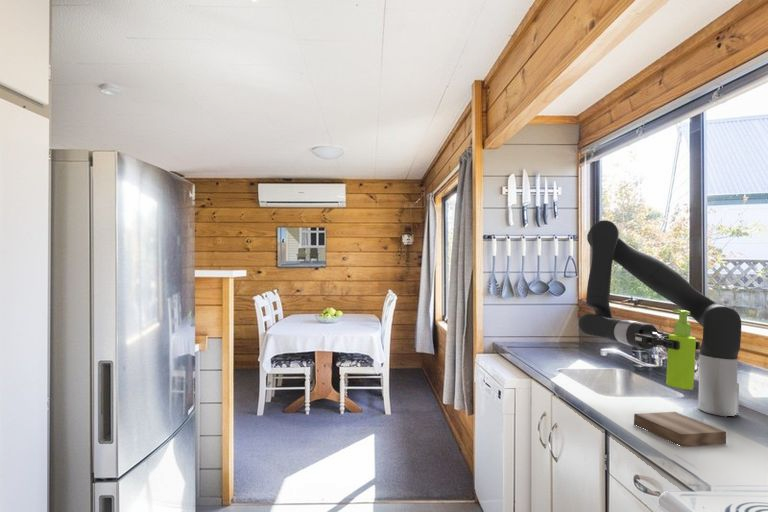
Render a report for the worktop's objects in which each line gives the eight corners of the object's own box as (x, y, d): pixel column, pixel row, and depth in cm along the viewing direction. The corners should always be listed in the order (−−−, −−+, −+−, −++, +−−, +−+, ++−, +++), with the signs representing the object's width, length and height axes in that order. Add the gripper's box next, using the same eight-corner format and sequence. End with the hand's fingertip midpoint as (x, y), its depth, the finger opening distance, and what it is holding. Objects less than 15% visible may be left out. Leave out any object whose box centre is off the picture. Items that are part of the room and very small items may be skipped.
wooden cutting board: (674, 422, 117) (675, 411, 117) (725, 443, 104) (726, 431, 104) (633, 424, 114) (634, 413, 114) (681, 446, 100) (681, 434, 100)
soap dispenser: (684, 383, 112) (688, 309, 112) (698, 390, 105) (702, 312, 106) (660, 380, 113) (664, 307, 114) (672, 387, 107) (676, 310, 107)
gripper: (615, 321, 122) (666, 331, 105) (655, 321, 125) (711, 331, 109) (614, 346, 122) (665, 360, 105) (654, 346, 125) (710, 360, 109)
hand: (688, 345), depth 107 cm, fingers closed on soap dispenser, 6 cm apart
